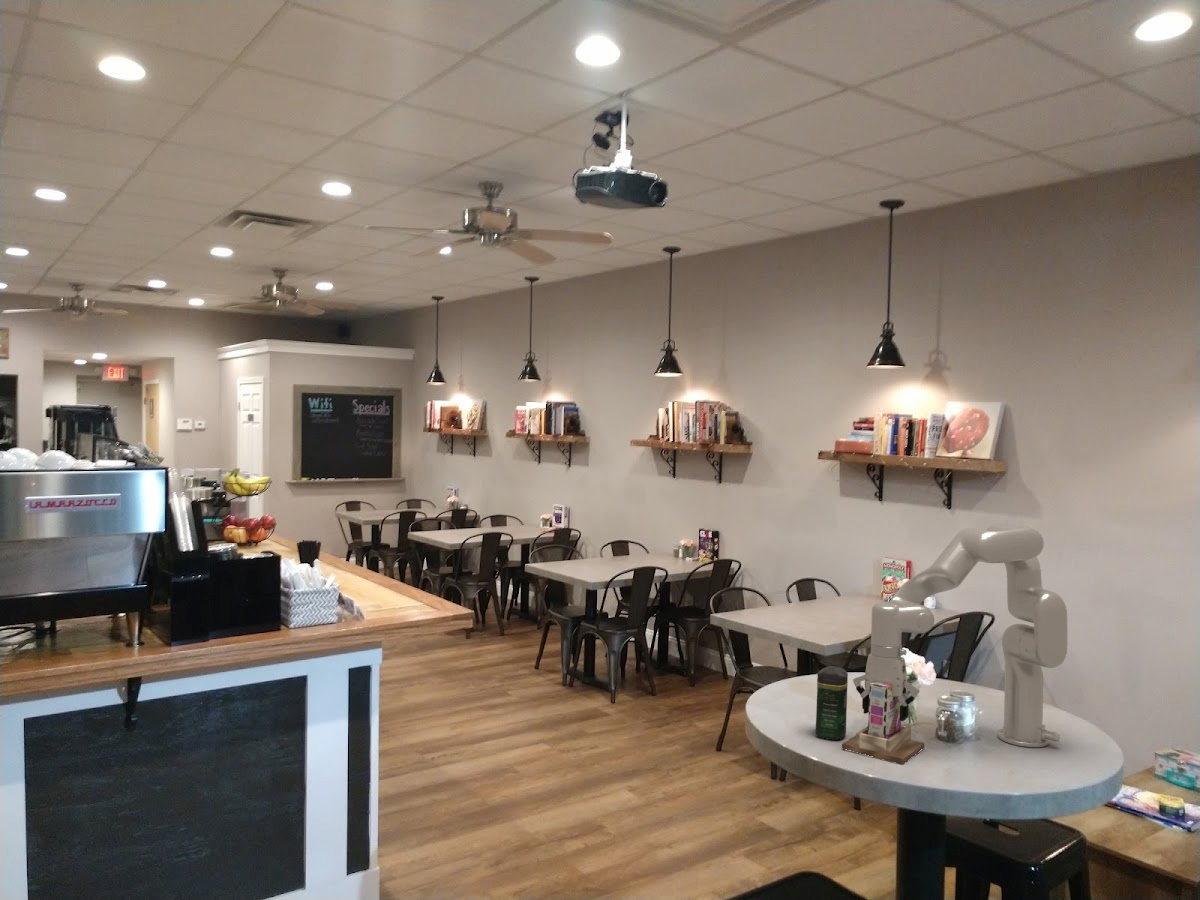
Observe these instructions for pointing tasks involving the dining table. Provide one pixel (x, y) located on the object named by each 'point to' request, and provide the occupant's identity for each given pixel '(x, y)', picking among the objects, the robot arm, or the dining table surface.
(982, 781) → the dining table surface
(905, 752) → the stand
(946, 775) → the dining table surface
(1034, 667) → the robot arm
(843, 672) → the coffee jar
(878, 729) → the candy bar box
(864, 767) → the dining table surface
